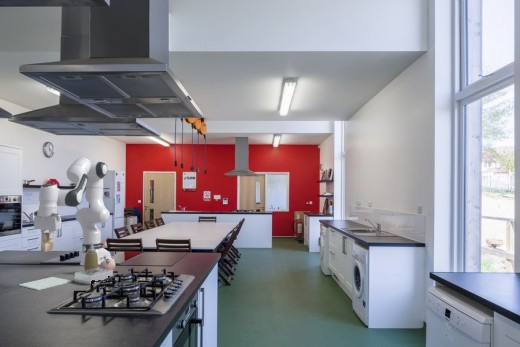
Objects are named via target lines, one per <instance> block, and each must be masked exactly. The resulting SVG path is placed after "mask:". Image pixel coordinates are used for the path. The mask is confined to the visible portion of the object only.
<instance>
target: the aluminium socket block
mask: <svg viewBox="0 0 520 347" xmlns="http://www.w3.org/2000/svg"><path fill="white" fill-rule="evenodd" d="M108 276H113V277H114V270H109V269H103V268H100V267H98V268H93V269H88V270H85V269H84V270H80V271H77V272H74V282H75V283H79V284H83V285H90V284H91V281H92V280H95V281H98V280H104V279H106V278H108ZM95 284H97V283H96V282H95ZM95 284H94V285H95ZM90 286H91V285H90Z"/></svg>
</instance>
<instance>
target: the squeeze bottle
mask: <svg viewBox="0 0 520 347" xmlns="http://www.w3.org/2000/svg"><path fill="white" fill-rule="evenodd" d="M87 252H88V253H86V255H85V263H84V266H83V269H84V270H88V269H93V268H99V265H98V256H97V253H96V249H94V247H93V243H91V244H90V248H89V249H88V250H87Z"/></svg>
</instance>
